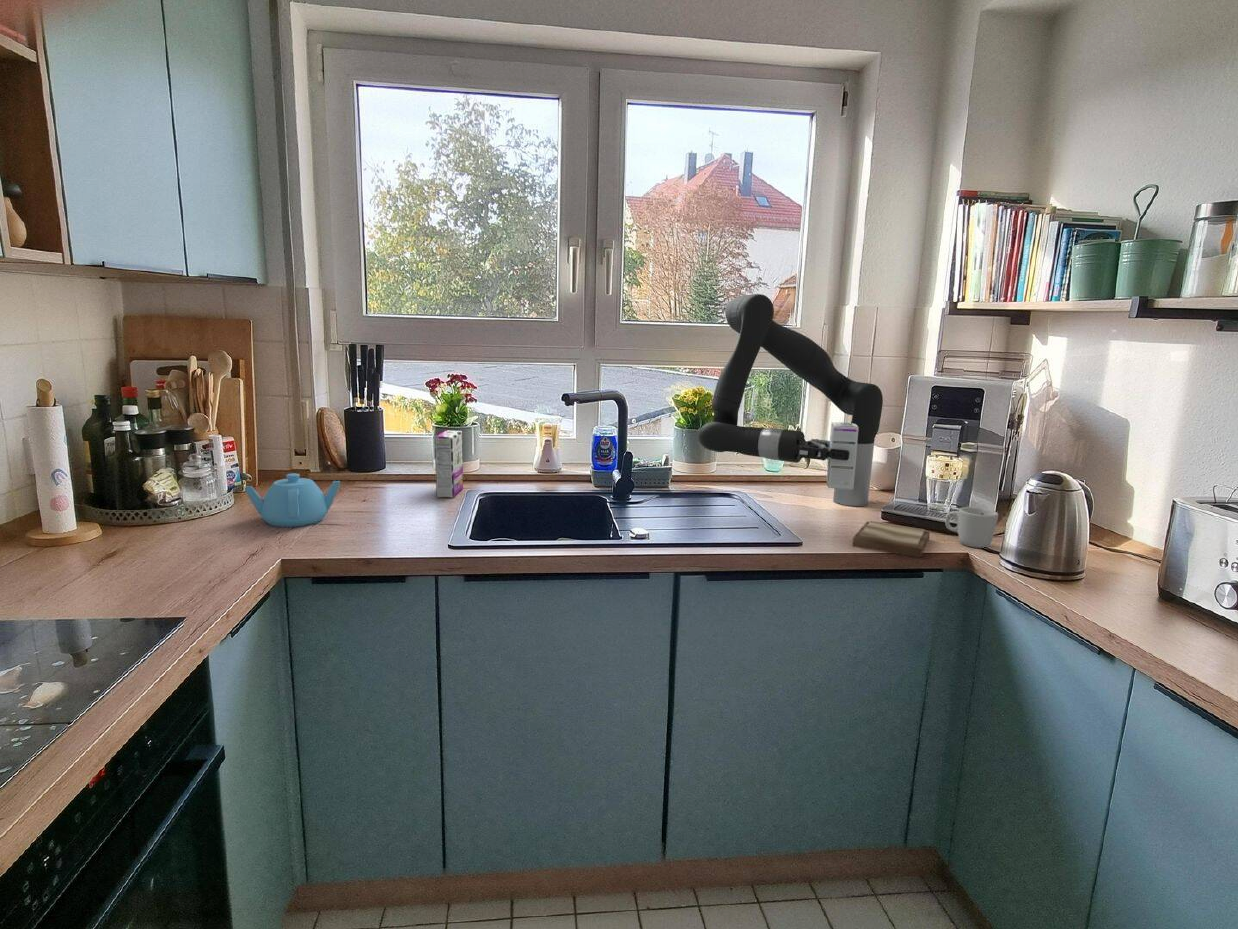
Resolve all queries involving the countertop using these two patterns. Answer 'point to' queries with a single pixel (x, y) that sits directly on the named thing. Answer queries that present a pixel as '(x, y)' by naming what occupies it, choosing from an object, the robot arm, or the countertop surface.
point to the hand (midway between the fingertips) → (852, 453)
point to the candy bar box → (448, 464)
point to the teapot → (293, 501)
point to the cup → (974, 525)
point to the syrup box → (841, 470)
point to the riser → (892, 538)
